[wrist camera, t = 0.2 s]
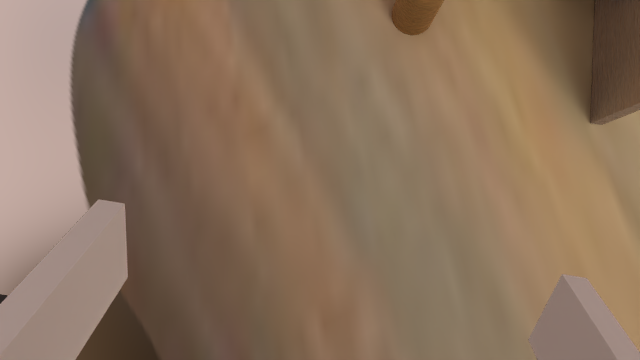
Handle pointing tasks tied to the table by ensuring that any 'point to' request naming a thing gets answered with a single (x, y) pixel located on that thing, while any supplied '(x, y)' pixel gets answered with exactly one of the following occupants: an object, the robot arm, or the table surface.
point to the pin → (414, 15)
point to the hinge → (615, 60)
